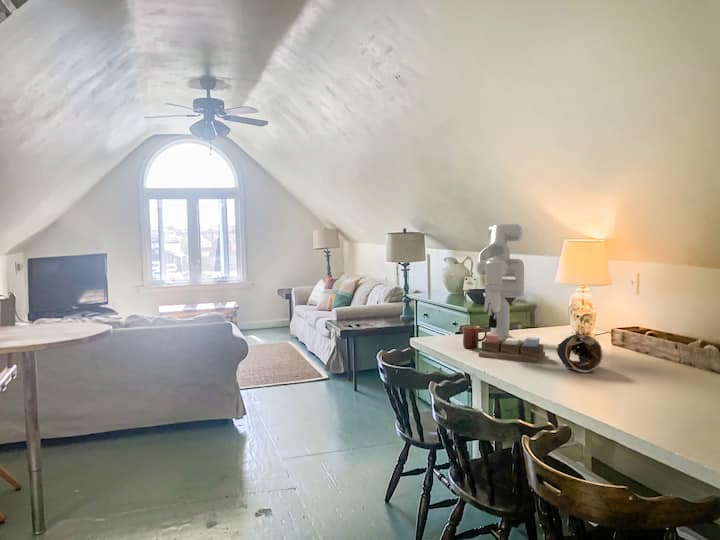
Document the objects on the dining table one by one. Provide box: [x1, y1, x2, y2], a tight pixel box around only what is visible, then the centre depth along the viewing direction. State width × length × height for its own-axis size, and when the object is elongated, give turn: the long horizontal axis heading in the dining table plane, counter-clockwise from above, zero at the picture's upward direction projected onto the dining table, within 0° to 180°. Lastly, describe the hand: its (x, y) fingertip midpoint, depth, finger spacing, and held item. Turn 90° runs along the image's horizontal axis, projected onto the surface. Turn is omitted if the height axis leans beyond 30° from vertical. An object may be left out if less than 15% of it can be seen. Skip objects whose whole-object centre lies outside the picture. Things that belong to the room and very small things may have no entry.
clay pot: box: [556, 333, 603, 373], centre depth 233 cm, size 15×15×25 cm
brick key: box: [485, 333, 500, 343], centre depth 255 cm, size 5×5×4 cm
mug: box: [461, 325, 487, 350], centre depth 269 cm, size 12×9×10 cm
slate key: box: [524, 336, 540, 347], centre depth 246 cm, size 5×5×4 cm
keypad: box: [478, 339, 546, 364], centre depth 251 cm, size 16×26×6 cm, turn 59°
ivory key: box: [504, 337, 520, 345], centre depth 251 cm, size 5×5×4 cm
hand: (492, 327), depth 254 cm, fingers closed
